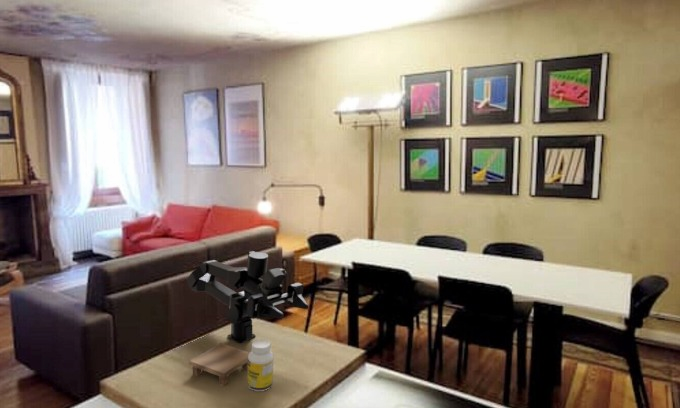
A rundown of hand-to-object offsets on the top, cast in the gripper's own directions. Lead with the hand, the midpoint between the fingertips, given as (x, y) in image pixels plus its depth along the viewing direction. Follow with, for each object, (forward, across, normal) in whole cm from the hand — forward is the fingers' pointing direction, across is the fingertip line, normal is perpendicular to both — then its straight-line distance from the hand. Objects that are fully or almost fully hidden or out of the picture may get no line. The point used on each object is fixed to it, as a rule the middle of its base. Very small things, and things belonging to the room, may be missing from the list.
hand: (295, 311), depth 124 cm
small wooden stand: (-9, -16, +18) cm, 26 cm away
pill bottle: (+3, -13, +16) cm, 21 cm away
